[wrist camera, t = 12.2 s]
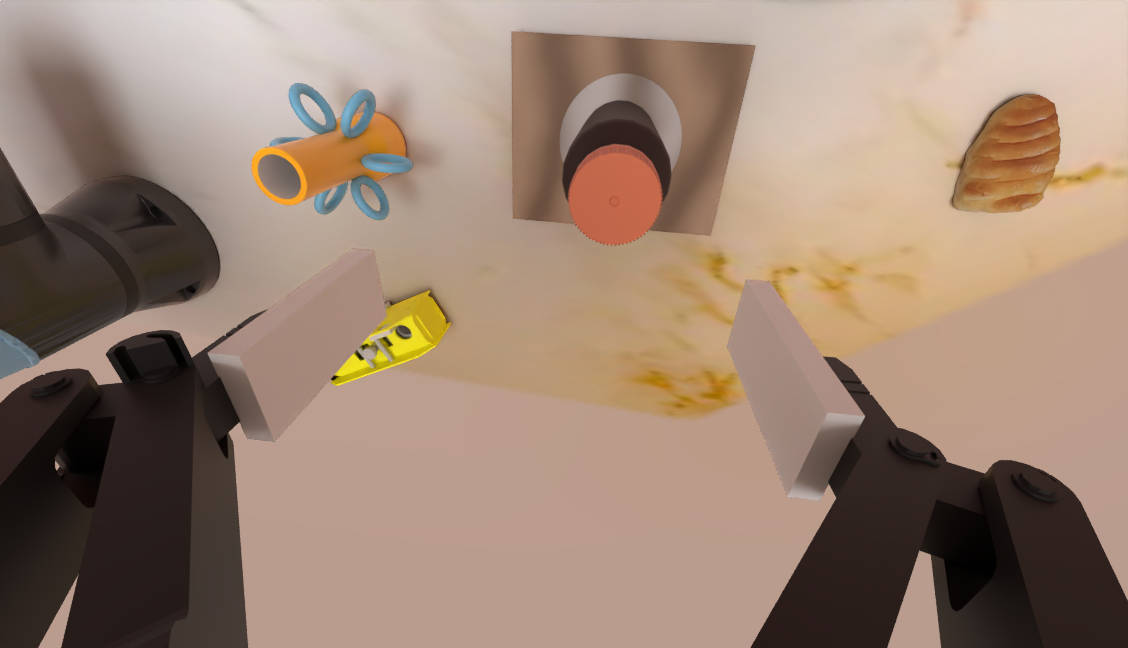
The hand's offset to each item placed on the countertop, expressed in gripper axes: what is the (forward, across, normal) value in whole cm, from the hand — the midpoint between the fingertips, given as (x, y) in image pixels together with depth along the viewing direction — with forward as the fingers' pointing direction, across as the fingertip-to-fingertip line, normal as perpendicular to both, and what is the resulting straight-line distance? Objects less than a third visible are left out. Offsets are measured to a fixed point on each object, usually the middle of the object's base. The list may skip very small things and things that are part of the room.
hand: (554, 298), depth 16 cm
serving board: (+31, +3, +1) cm, 31 cm away
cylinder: (+31, -21, -1) cm, 38 cm away
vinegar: (+29, +2, +1) cm, 29 cm away
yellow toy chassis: (+31, -24, -22) cm, 45 cm away
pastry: (+31, +36, +1) cm, 47 cm away
